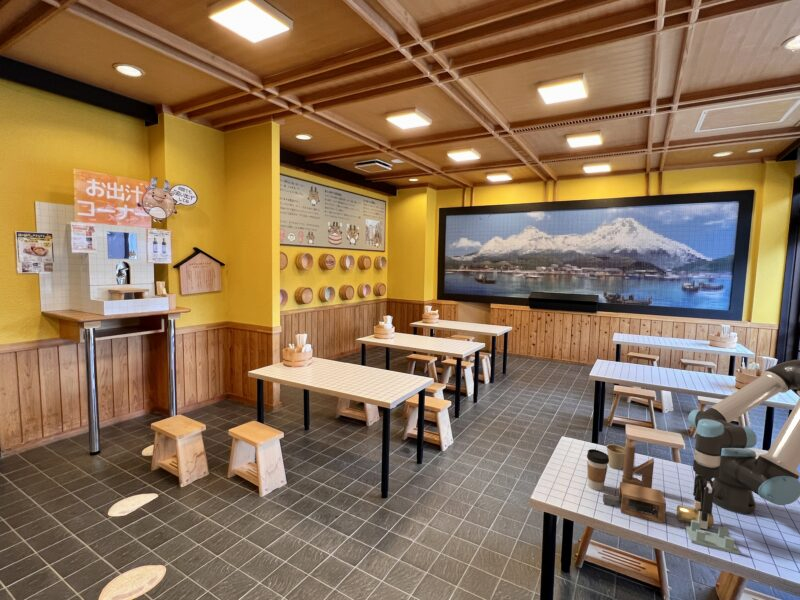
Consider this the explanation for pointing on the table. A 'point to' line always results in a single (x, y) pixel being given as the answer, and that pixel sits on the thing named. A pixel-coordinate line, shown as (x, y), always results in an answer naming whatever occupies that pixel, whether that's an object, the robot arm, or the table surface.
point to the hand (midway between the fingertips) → (699, 523)
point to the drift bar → (631, 503)
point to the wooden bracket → (637, 469)
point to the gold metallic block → (691, 515)
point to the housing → (643, 495)
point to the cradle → (711, 538)
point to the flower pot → (616, 456)
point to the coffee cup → (597, 469)
